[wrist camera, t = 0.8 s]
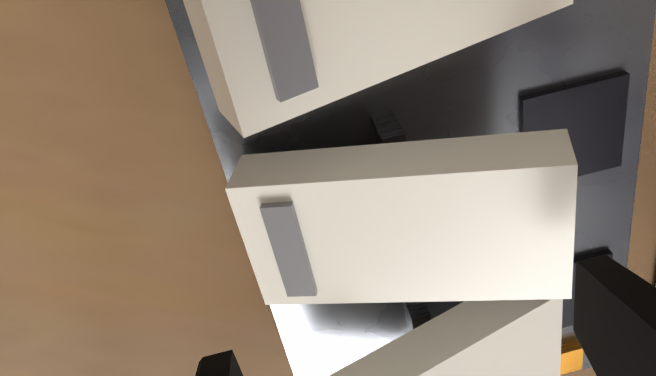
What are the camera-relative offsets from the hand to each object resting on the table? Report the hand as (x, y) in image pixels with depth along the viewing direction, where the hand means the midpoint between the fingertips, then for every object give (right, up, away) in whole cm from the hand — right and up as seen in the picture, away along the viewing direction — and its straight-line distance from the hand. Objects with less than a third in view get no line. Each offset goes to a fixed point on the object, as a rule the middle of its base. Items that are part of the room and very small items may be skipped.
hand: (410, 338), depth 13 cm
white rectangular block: (+2, -3, +7) cm, 8 cm away
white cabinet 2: (0, +3, +4) cm, 5 cm away
